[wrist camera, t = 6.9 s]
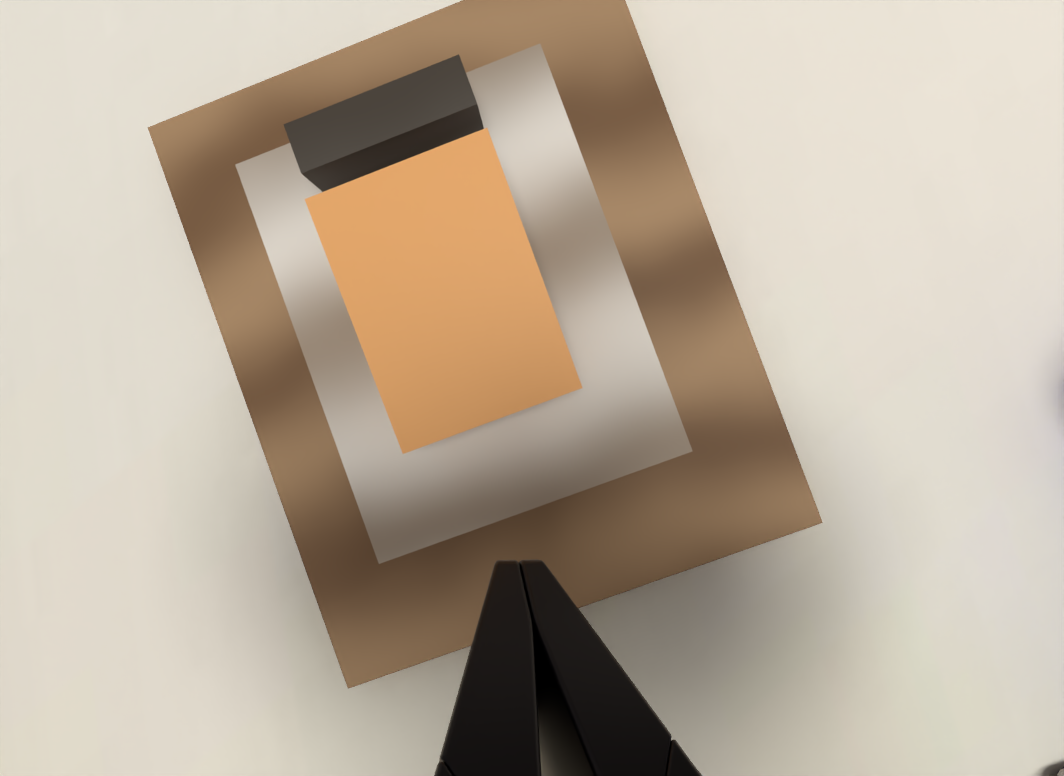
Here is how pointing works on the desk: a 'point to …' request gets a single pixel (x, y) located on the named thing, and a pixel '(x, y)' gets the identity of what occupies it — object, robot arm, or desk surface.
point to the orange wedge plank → (444, 291)
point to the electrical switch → (1061, 772)
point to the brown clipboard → (577, 298)
